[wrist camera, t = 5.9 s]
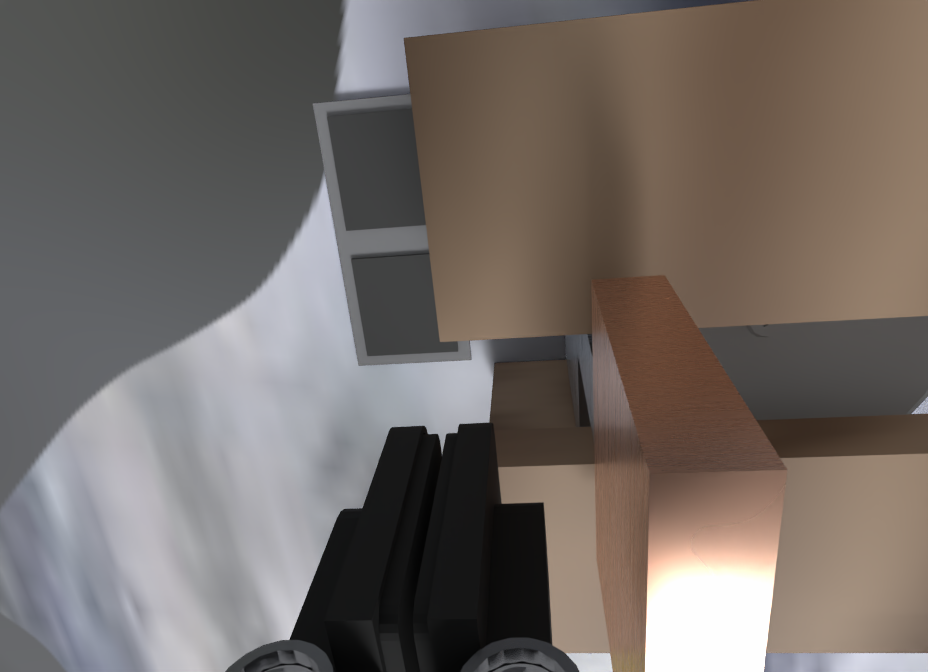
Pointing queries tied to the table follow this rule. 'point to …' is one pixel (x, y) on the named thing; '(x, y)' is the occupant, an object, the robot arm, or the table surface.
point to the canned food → (826, 366)
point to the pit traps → (382, 230)
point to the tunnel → (695, 258)
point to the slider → (674, 487)
